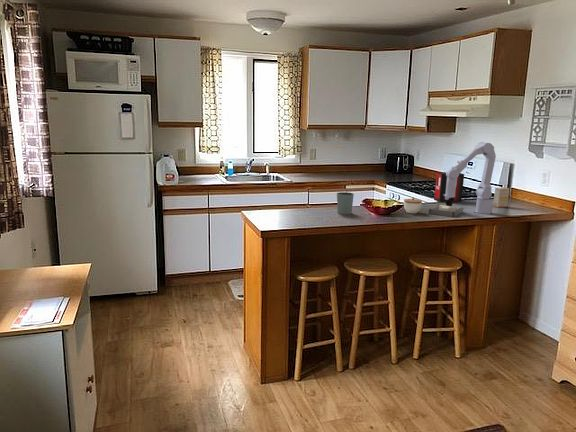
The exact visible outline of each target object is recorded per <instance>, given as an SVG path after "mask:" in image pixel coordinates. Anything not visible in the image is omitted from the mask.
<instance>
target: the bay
mask: <svg viewBox="0 0 576 432" xmlns="http://www.w3.org/2000/svg"><path fill="white" fill-rule="evenodd" d="M439 205H441V204H437V205H434V206H432V207H431V208H428V214H429V215H436V216H443V217H451V218H455V217H457V216H459V215H461V214H462V213H464V207H463V206H462V207H460V208H458V209H456V211H454V212H451V211H444V210H439Z"/></svg>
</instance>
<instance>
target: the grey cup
mask: <svg viewBox="0 0 576 432" xmlns="http://www.w3.org/2000/svg"><path fill="white" fill-rule="evenodd" d="M336 201H337V202H336V203H337V205H336V206H337V209H336V210H337V214H338V215H339V214H340V215H351V214H352V213H353V205H354V204H353V203H354V193H353V192H347V191H346V192H344V191H343V192H336Z"/></svg>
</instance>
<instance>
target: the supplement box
mask: <svg viewBox="0 0 576 432" xmlns="http://www.w3.org/2000/svg"><path fill="white" fill-rule="evenodd" d="M509 195H510V188H509V187H506V186H505V187H494V195H493V206H492V207H493V208H508V204H509Z"/></svg>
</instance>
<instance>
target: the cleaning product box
mask: <svg viewBox="0 0 576 432" xmlns="http://www.w3.org/2000/svg"><path fill="white" fill-rule="evenodd" d="M446 173H447V171H446V172H445V171H444V172H443V171H442V172H441V171H439V172H437V171H436V173H435V175H436V176H435V185H434V197H433V200H434V201H435V202H438V203H446V202H445V200H444V198H445V196H443V195H444V194H445V193H446V183H447V176H446ZM464 180H465V173H462V172H460V173H459V176H458V177H457V180H456V190H455V197H452V198H455V200H454V202H453V203H462V199H463V192H464V191H463V189H464V182H465V181H464Z"/></svg>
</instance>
